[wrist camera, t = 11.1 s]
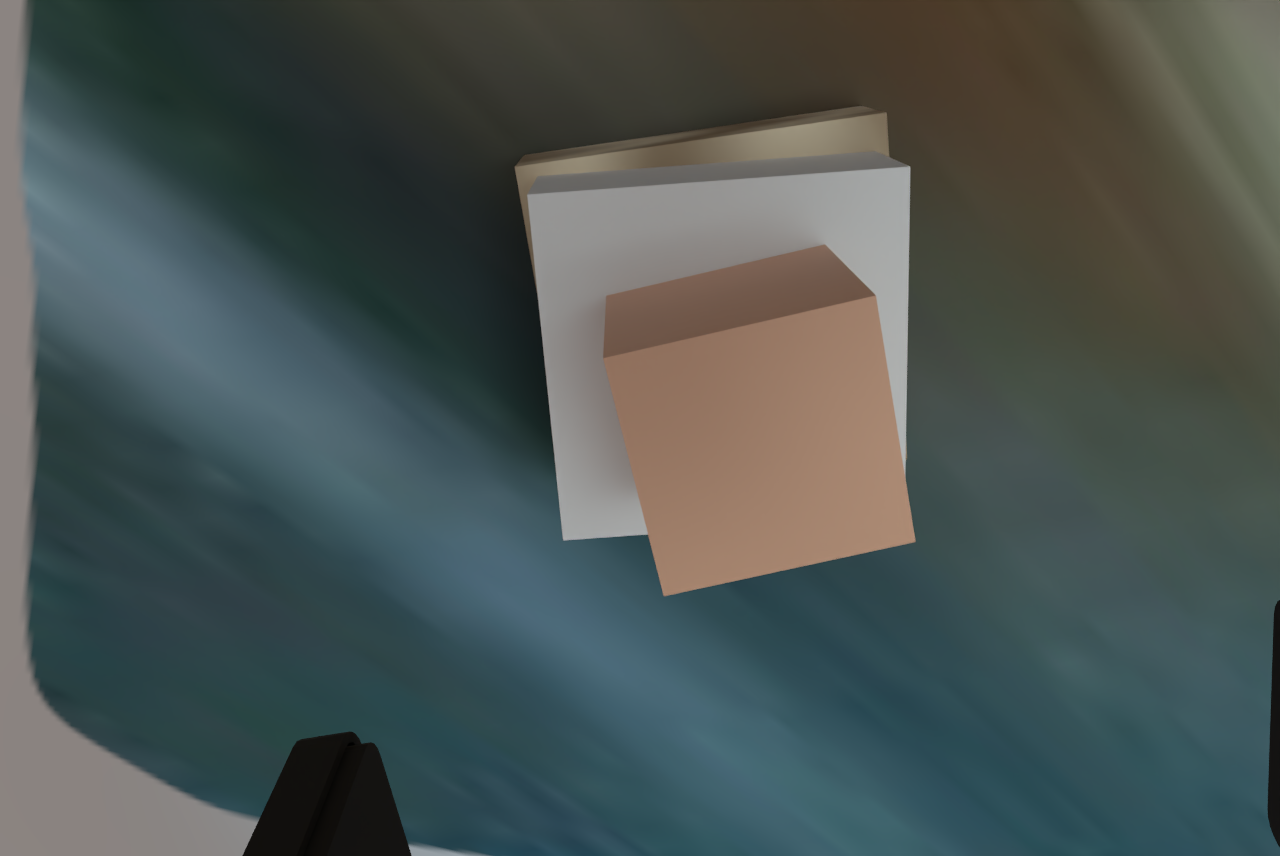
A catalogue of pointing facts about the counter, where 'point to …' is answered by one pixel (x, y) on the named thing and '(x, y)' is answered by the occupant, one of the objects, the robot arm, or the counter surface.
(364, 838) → the robot arm
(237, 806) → the counter surface
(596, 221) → the grey top slab
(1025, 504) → the counter surface
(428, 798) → the counter surface
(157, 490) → the counter surface
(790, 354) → the terracotta cube
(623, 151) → the maple base slab
